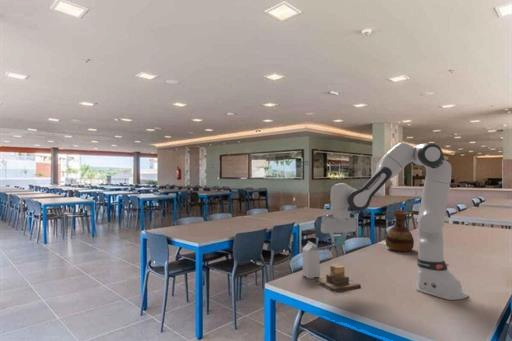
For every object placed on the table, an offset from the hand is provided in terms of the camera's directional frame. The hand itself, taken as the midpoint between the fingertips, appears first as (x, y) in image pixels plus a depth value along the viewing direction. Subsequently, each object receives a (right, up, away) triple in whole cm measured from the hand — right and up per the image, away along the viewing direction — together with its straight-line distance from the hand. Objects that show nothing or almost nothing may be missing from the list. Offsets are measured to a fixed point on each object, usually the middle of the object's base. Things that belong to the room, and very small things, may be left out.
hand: (338, 241), depth 163 cm
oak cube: (-1, -18, -1) cm, 18 cm away
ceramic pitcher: (+67, -24, +78) cm, 106 cm away
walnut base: (-1, -22, -1) cm, 22 cm away
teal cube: (0, -2, 0) cm, 2 cm away
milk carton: (-12, -23, +13) cm, 29 cm away
